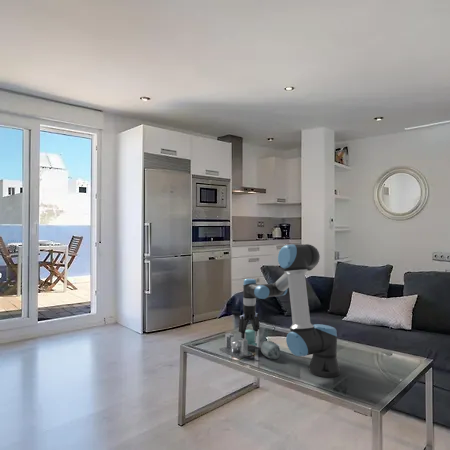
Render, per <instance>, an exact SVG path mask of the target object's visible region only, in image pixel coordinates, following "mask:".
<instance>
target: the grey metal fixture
mask: <svg viewBox="0 0 450 450" xmlns="http://www.w3.org/2000/svg"><path fill="white" fill-rule="evenodd" d="M224 334H225V338H224V343H225V344H224V347H220V348H219V349H218V350H219V351H220V352H223V353H225V354H227V355H229V356H231V357H233V358H235V359H236V360H237V359H238V360H239V359H243V358H246V357H248V358H249V357H251V356H254V353H253V352H251V351H250V350H248V340H246V339H241V338H240V339H238V340H233V341H232V338H234V334H233V333H230V332H228V333H224ZM240 346H242V348H241V347H240Z"/></svg>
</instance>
